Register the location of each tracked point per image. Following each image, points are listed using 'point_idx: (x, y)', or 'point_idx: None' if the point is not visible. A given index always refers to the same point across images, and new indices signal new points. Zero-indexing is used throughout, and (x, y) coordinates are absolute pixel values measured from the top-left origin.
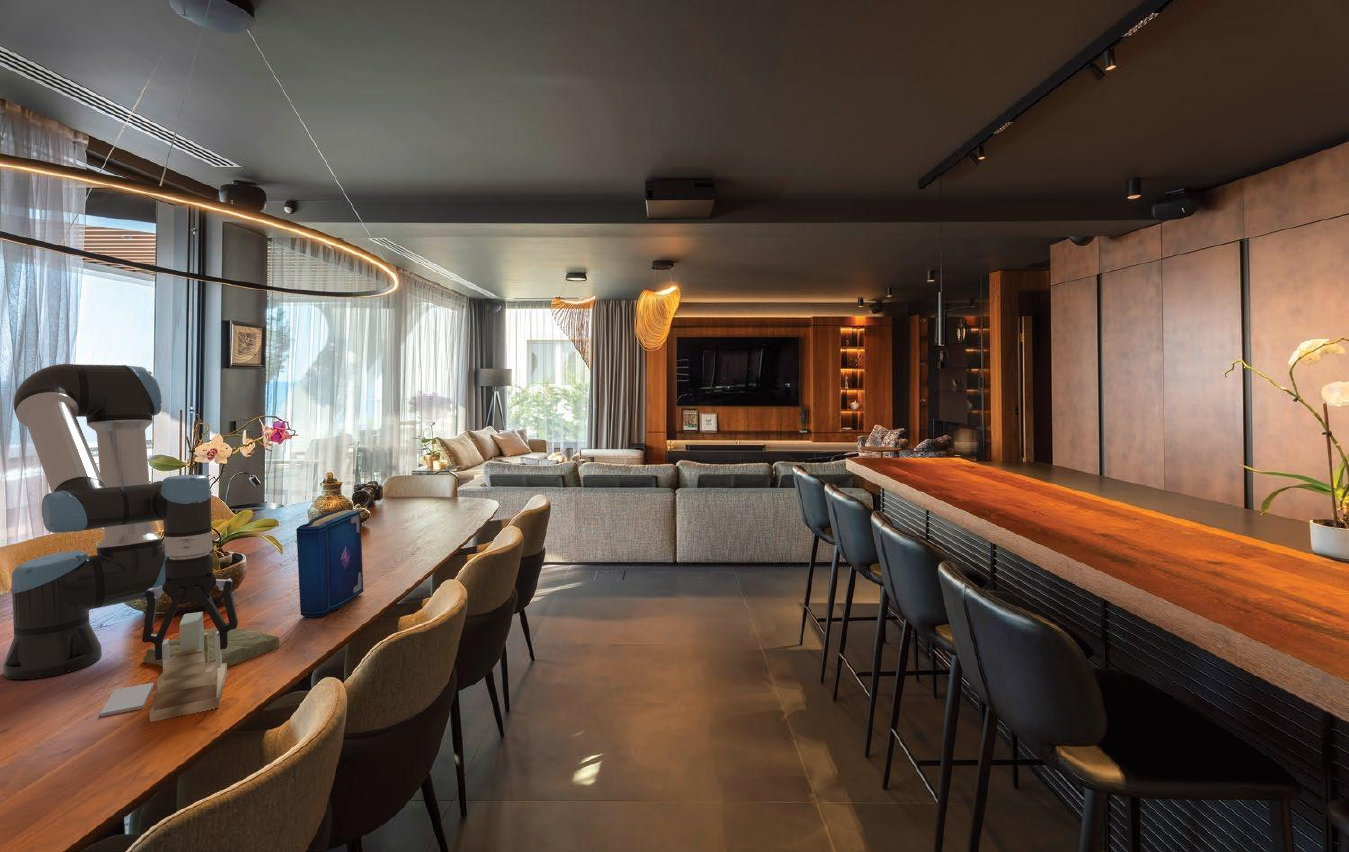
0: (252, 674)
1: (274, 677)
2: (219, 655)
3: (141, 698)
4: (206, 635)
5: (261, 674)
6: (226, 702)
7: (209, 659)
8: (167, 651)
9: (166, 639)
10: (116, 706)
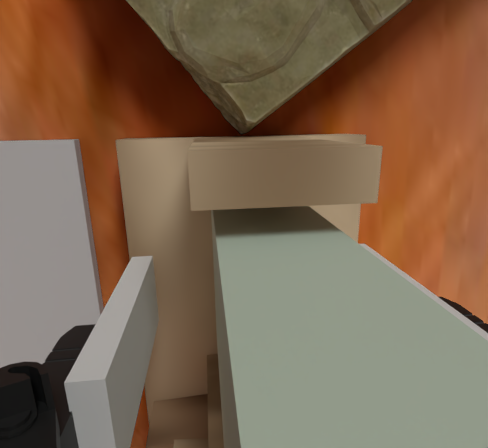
0: (426, 209)
1: (483, 275)
2: None
3: (81, 303)
4: (366, 200)
5: (452, 225)
6: None
7: (295, 59)
8: (134, 408)
9: (85, 388)
10: (13, 338)
